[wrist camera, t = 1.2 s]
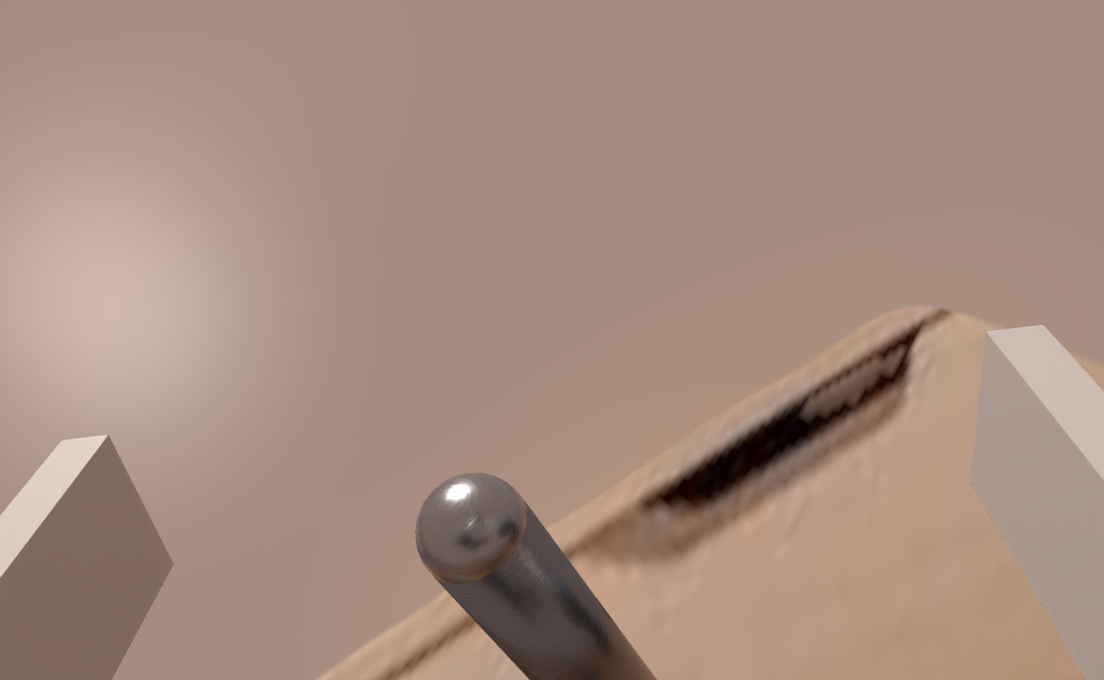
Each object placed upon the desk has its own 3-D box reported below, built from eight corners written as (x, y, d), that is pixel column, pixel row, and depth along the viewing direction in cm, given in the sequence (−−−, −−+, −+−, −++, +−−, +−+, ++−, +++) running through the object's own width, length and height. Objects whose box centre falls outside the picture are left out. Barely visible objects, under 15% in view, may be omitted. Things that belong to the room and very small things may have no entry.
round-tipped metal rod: (699, 727, 34) (482, 430, 23) (736, 799, 32) (516, 507, 21) (632, 767, 34) (384, 490, 23) (665, 843, 32) (405, 573, 21)
